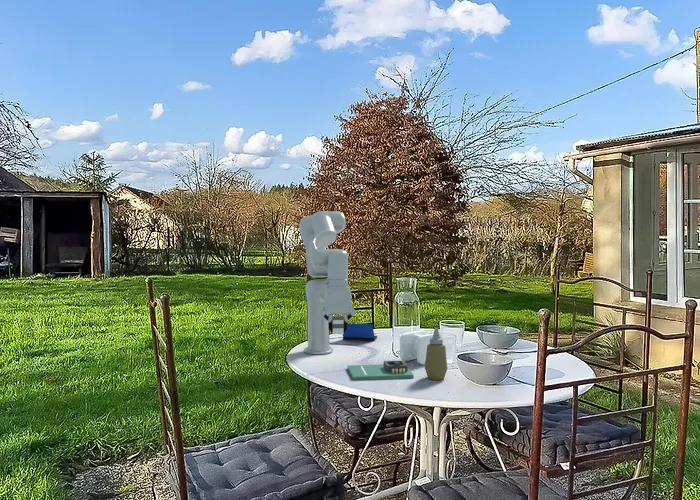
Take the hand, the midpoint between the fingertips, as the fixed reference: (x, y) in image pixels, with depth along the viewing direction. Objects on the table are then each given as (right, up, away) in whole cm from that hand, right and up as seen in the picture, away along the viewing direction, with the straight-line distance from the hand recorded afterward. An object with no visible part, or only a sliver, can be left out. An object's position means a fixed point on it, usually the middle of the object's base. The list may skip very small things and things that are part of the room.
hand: (337, 331), depth 202 cm
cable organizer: (+33, -15, +17) cm, 40 cm away
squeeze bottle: (+36, -16, -8) cm, 40 cm away
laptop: (+9, -13, +59) cm, 62 cm away
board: (+16, -15, -1) cm, 22 cm away
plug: (0, -1, 0) cm, 1 cm away
